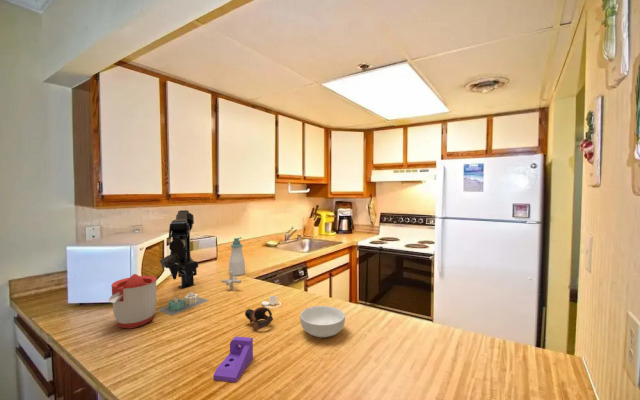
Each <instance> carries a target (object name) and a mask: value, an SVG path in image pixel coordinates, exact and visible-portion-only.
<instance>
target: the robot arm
mask: <svg viewBox="0 0 640 400" xmlns="http://www.w3.org/2000/svg"><path fill="white" fill-rule="evenodd" d="M194 224H195V218H194V214H192V213H191V212H190V210H188V209H187V210H185V209H184V210H178V211H177V214H176V215H175V219H173V220H171V222H170V223H169V227H168V228H169V229H168V238H172V240H171V242H170V243H169V247H168V248H169V250H170V252H169V255H166V256H165V257H162V258H161V259H160V260H159V262H160V264H161V267H162V268H166V269H168V270H169V271H170V274H171V277H172V279H173V280H176V279H177V276H178V278H181V279H180V281H181V282H180V283H181V284H180V285H178V287H179V288H180V289H182V288H183V289H186V288H190V287H193V286H197V285H196V284H194V283H195V282H194V277H195V276H196V275H198V274H197V273H198V272H197V271H198V270H197V269H198V268H199V262H198V261H197V260H193V258H192V257H191V230H192V229H193V226H194Z"/></svg>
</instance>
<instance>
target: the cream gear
mask: <svg viewBox="0 0 640 400" xmlns="http://www.w3.org/2000/svg"><path fill="white" fill-rule="evenodd" d="M199 298H200V297H199V294H198V293H193V297H189V293H188V294H186V295H184V296H183V299H184V303H185V305H186V304H189V305H191V304H196V303H197V302H199Z"/></svg>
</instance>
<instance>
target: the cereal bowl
mask: <svg viewBox="0 0 640 400" xmlns="http://www.w3.org/2000/svg"><path fill="white" fill-rule="evenodd" d="M299 321H300V325H301V327H302V329H303V330H304V331H305V333H308V335H311V336H314V337H317V338H328V337H333V336H335V335H337V334H338V333H340V331H342V330H343V327H344V326H345V322H346V315H345V312H344V311H342V310H341V309H339V308H337V307H334V306H331V305H330V306H328V305H315V306H310V307H307V308H304V310H303V309H302V311H301V312H300V314H299Z"/></svg>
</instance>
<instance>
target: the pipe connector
mask: <svg viewBox="0 0 640 400" xmlns="http://www.w3.org/2000/svg"><path fill="white" fill-rule="evenodd" d="M237 277H238V276H233V271H231V272H230V274H229V278H222V280H221V283H224V284H225V285H226V286H227V287H228V286H229V291H230V292H233V291H234V284H241V283H242V280H241V279H237Z"/></svg>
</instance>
